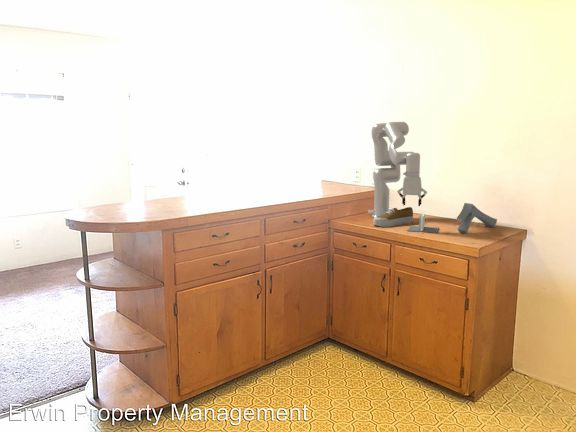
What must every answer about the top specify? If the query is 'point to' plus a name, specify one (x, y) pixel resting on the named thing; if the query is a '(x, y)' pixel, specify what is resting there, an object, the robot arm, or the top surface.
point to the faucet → (471, 212)
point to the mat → (426, 229)
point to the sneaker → (394, 217)
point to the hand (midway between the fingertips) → (411, 205)
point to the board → (421, 222)
